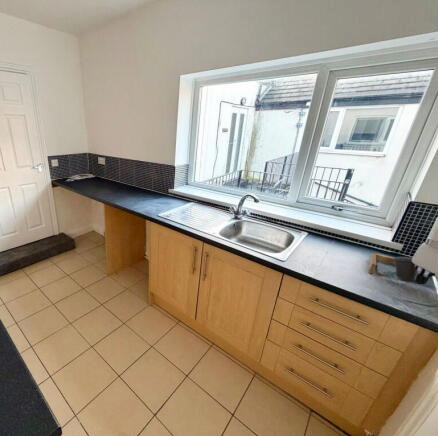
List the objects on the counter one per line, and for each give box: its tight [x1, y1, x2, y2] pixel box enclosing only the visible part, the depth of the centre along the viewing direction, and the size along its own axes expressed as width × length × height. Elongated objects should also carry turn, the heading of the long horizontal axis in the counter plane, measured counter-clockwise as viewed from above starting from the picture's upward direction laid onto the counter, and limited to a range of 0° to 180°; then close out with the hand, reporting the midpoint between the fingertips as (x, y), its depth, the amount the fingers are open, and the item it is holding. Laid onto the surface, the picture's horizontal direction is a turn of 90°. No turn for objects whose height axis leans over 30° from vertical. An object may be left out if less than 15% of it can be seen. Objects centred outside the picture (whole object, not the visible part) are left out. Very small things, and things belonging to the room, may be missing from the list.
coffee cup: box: [393, 256, 417, 282], centre depth 108 cm, size 8×8×10 cm
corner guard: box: [367, 252, 396, 275], centre depth 115 cm, size 16×14×5 cm
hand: (419, 282), depth 103 cm, fingers closed
